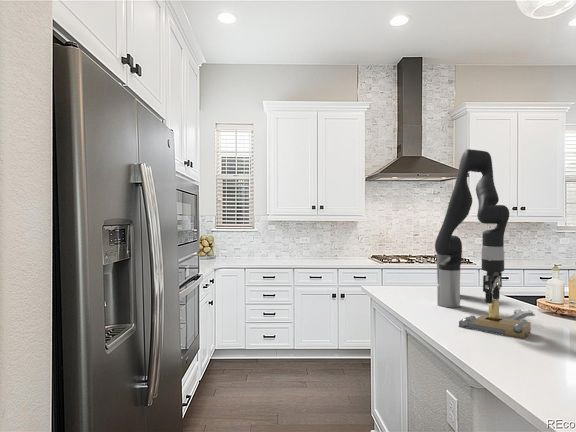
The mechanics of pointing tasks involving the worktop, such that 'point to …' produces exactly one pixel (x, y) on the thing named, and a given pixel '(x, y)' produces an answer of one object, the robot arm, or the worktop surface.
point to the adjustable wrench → (520, 314)
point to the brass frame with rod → (498, 325)
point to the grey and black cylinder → (439, 259)
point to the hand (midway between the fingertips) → (492, 301)
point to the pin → (494, 310)
